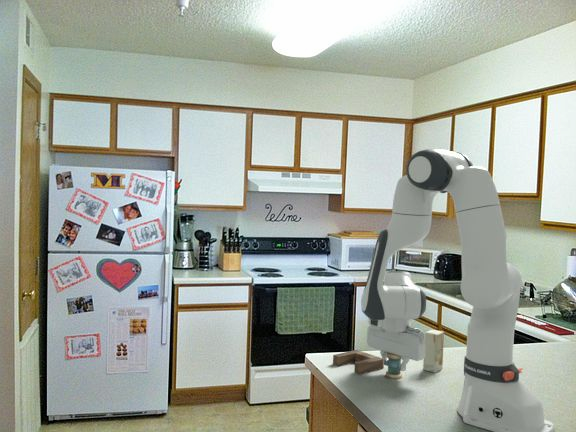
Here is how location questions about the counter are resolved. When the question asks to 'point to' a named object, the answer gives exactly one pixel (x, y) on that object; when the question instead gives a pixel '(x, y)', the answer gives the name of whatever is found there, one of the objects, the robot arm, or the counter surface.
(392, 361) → the thread spool
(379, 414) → the counter surface
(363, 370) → the notched board
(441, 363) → the skincare box
